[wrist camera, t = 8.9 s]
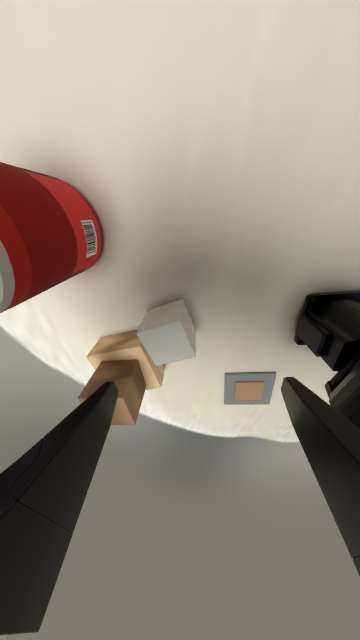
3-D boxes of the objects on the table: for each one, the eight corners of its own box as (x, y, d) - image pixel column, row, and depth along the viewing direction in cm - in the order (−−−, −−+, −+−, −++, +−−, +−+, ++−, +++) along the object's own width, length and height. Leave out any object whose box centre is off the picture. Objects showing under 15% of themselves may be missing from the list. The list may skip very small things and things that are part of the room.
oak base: (148, 326, 23) (140, 346, 19) (165, 365, 26) (161, 387, 23) (101, 336, 24) (86, 356, 21) (123, 371, 27) (113, 394, 24)
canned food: (55, 153, 14) (-221, 31, 5) (122, 243, 17) (36, 276, 8) (8, 214, 17) (-232, 213, 7) (73, 282, 20) (-35, 343, 10)
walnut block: (137, 359, 20) (122, 397, 16) (146, 385, 23) (135, 425, 18) (101, 360, 21) (77, 398, 17) (113, 386, 23) (95, 424, 19)
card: (275, 371, 25) (277, 374, 24) (268, 402, 28) (269, 405, 28) (224, 373, 25) (225, 375, 25) (224, 402, 29) (224, 405, 29)
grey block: (182, 298, 20) (179, 320, 16) (195, 329, 22) (195, 356, 18) (148, 309, 21) (136, 333, 17) (163, 338, 23) (156, 366, 19)
